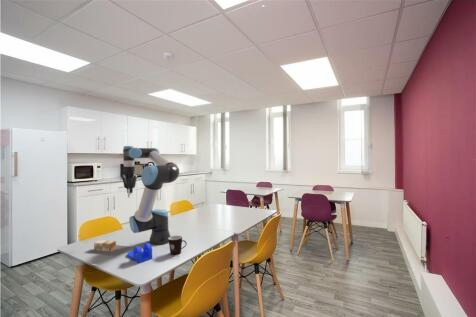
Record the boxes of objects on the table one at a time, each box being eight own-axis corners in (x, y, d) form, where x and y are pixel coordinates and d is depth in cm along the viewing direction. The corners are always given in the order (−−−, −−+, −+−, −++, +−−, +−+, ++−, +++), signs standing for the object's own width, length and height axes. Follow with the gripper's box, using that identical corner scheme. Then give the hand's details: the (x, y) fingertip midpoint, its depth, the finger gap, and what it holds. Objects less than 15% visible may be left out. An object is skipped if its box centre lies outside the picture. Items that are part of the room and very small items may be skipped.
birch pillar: (115, 241, 160) (100, 240, 163) (110, 243, 155) (94, 242, 159) (116, 248, 160) (100, 247, 163) (110, 251, 155) (94, 250, 159)
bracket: (152, 259, 143) (151, 244, 143) (139, 263, 137) (138, 248, 137) (137, 252, 155) (137, 238, 155) (125, 256, 149) (124, 242, 149)
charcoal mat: (133, 247, 163) (133, 246, 163) (116, 256, 148) (116, 255, 148) (104, 245, 169) (104, 244, 169) (85, 254, 154) (85, 253, 154)
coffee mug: (166, 253, 150) (165, 237, 150) (178, 249, 156) (177, 234, 157) (175, 258, 142) (175, 242, 142) (187, 254, 148) (187, 238, 148)
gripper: (139, 166, 182) (140, 196, 182) (125, 166, 185) (126, 196, 185) (133, 166, 175) (134, 198, 175) (118, 166, 178) (119, 198, 178)
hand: (129, 197), depth 180 cm, fingers closed
